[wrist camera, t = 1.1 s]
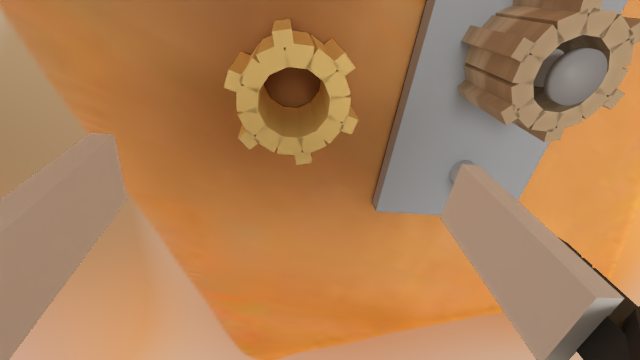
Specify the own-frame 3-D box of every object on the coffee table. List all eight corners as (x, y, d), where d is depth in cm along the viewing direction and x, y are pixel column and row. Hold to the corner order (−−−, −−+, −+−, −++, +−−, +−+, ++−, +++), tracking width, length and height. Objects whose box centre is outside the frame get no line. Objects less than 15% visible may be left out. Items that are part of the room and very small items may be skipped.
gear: (481, -19, 21) (542, -20, 16) (591, 1, 23) (680, 6, 18) (439, 105, 26) (477, 135, 21) (533, 116, 27) (591, 147, 22)
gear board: (437, -38, 22) (507, -48, 15) (612, -6, 24) (744, -1, 17) (372, 202, 32) (396, 262, 25) (499, 210, 34) (553, 267, 27)
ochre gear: (236, 10, 22) (222, 18, 17) (355, 28, 24) (375, 40, 18) (236, 125, 27) (224, 159, 21) (336, 135, 28) (348, 169, 23)
